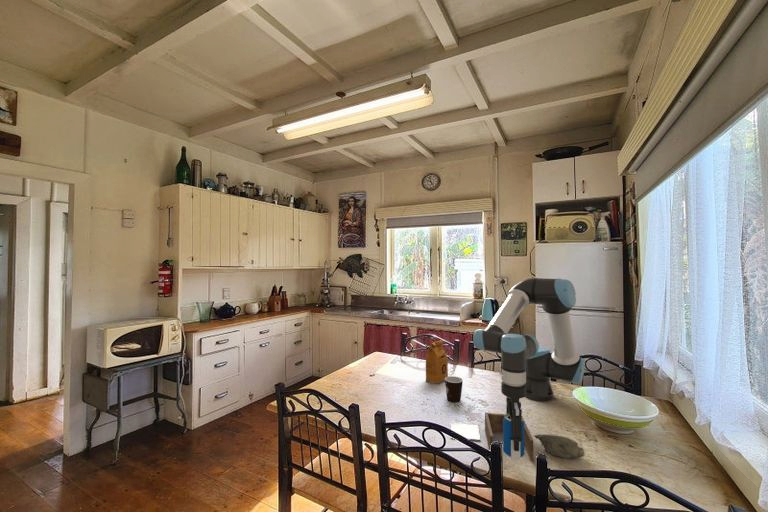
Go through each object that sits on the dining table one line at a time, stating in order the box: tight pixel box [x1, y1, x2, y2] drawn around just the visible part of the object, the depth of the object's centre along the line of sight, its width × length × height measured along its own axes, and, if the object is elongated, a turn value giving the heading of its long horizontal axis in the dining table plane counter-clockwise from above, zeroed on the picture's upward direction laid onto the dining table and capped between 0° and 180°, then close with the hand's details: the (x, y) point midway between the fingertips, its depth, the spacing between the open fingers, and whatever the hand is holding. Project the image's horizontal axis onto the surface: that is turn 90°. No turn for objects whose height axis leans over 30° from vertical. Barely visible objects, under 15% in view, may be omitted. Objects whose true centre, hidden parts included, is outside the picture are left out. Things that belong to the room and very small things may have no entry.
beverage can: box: [502, 413, 525, 458], centre depth 108 cm, size 6×6×12 cm
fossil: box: [534, 433, 585, 459], centre depth 116 cm, size 14×10×10 cm
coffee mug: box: [444, 375, 464, 404], centre depth 161 cm, size 12×9×10 cm
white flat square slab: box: [450, 422, 481, 442], centre depth 130 cm, size 11×11×1 cm
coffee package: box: [425, 339, 449, 384], centre depth 185 cm, size 10×12×22 cm
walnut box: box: [484, 411, 534, 462], centre depth 121 cm, size 14×18×7 cm
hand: (513, 452), depth 108 cm, fingers closed on beverage can, 6 cm apart
